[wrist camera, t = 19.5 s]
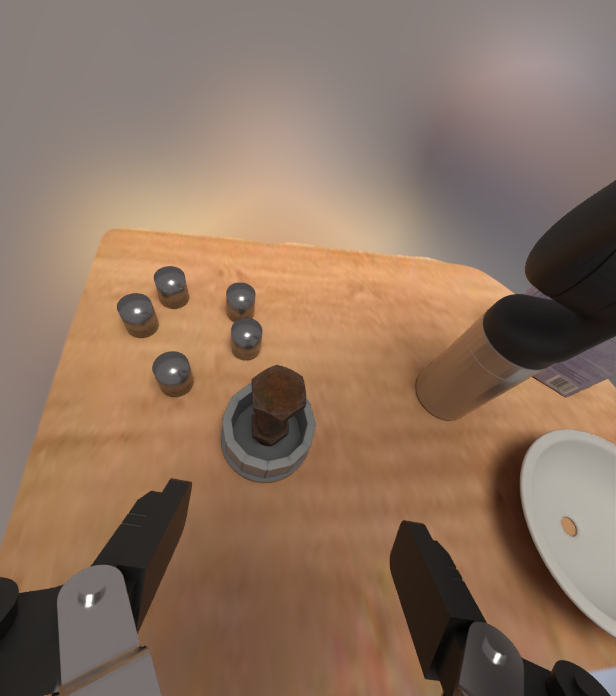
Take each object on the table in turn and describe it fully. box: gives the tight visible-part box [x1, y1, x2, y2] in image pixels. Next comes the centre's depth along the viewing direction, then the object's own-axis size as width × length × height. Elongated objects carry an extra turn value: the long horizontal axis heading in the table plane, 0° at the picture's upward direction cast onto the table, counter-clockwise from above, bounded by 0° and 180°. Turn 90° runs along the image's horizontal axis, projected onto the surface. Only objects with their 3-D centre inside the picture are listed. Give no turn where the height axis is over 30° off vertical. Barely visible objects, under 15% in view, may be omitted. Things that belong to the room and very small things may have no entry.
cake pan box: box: [524, 286, 616, 397], centre depth 53 cm, size 19×5×18 cm, turn 54°
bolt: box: [251, 365, 307, 446], centre depth 37 cm, size 6×5×15 cm
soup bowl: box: [520, 429, 616, 638], centre depth 43 cm, size 24×24×7 cm
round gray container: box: [221, 384, 316, 483], centre depth 41 cm, size 12×12×6 cm
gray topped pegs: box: [117, 266, 262, 397], centre depth 49 cm, size 19×19×5 cm
